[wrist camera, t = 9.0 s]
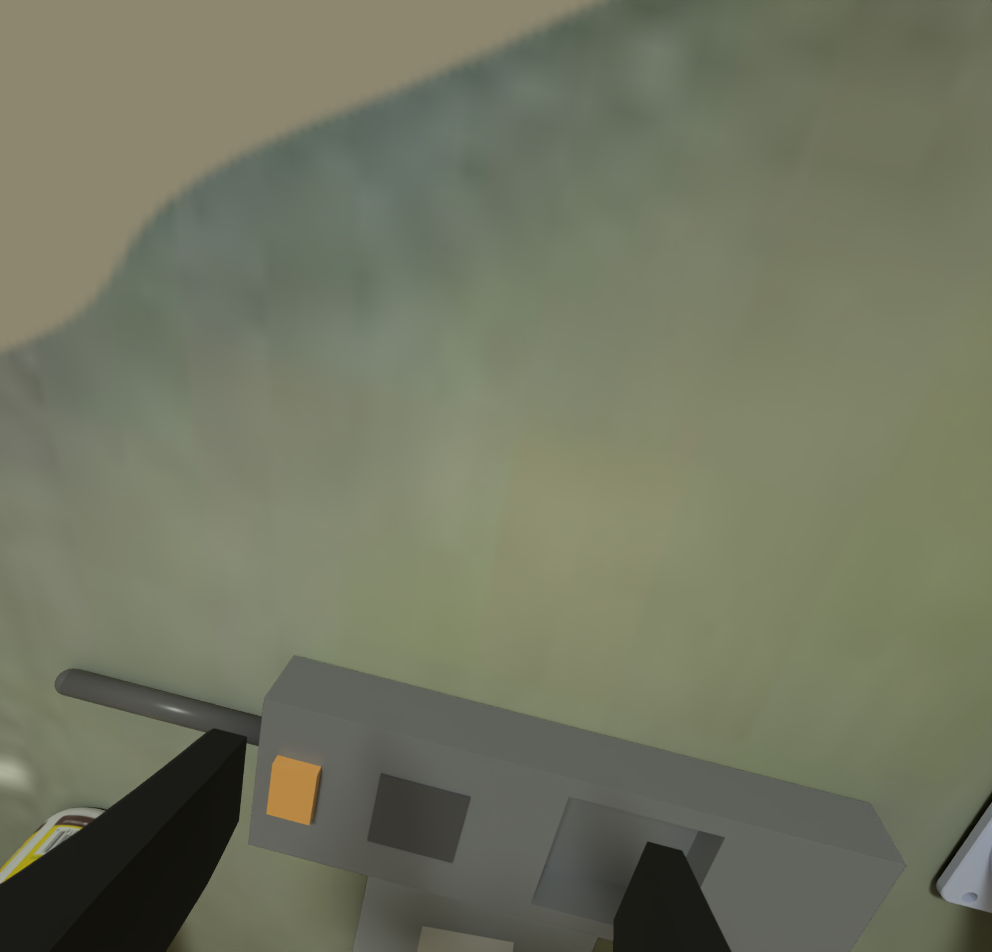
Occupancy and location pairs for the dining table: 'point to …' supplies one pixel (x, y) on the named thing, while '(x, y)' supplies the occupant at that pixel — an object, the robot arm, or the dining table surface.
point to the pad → (450, 922)
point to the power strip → (532, 809)
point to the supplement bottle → (48, 838)
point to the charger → (459, 942)
